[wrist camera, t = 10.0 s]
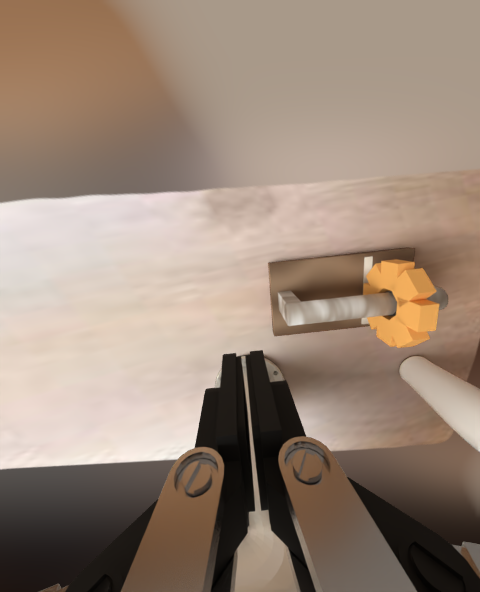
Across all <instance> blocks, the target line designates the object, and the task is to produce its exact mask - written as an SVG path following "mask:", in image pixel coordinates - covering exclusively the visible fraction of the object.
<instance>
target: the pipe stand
mask: <svg viewBox="0 0 480 592" xmlns="http://www.w3.org/2000/svg"><path fill="white" fill-rule="evenodd" d="M414 253H415V248H400V249H391V250H381V251H372V252H363V253H354V254H345V255H336V256H327V257H318V258H308V259H299V260H290V261H281V262H272V263H268V268H269V282H270V296H271V310H272V324H273V333H274V336H282V335H291V334H301V333H310V332H319V331H328V330H338V329H347V328H356V327H365V326H370V324H369V322H368V319H367V317H376V316H385V315H388V316H396V311H397V301H396V299H395V297H394V295H393V293H392V291H386V292H384V293H377V294H368V295H363V285H364V283H369V282H368V280H367V278H366V275H367V274H368V273H369V271H370V270H371V269H372V268H373V266H374V265H375V264H376V263H381V261H385V260H394V259H398V260H404V261H410V262H414ZM434 288H435V289H436V291H437V292H435V293H434V294H433V295H431V296H430V297H428V298H427V300H430V301H433V302H435V303H438V304H439V310H441V309H444V308H445V307H446V306H447V304H448V295H447V293H446V292H445V290H443V289H442V288H440V287H436V286H434Z"/></svg>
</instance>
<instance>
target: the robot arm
mask: <svg viewBox="0 0 480 592" xmlns="http://www.w3.org/2000/svg"><path fill="white" fill-rule="evenodd" d="M40 592H480V545H479V544H474V543H468V542H463V544H462V547H460V546H455V545H451V544H450V543H448V542H447V541H446V540H444V539H443V538H442V537H441V536H439V535H438V534H436V533H435V532H433V531H432V530H430V529H428V528H427V527H425V526H424V525H422V524H421V523H419V522H417V521H416V520H414V519H412V518H411V517H410V516H408V515H406V514H405V513H403V512H402V511H400V510H399V509H397V508H395V507H394V506H392V505H391V504H389V503H388V502H386V501H384V500H383V499H381V498H380V497H378V496H376V495H375V494H373V493H372V492H370V491H369V490H367V489H366V488H364V487H362V486H361V485H359V484H358V483H356V482H355V481H353V480H351V479H350V478H348V477H347V476H346V475H345V473H344V472H343V470H342V468H341V467H340V465H339V464H338V462H337V460H336V459H335V457H334V455H333V454H332V453H331V451H330V450H329V449H328V448H327V447H326V446H325V445H324V444H323V443H321V442H320V441H318V440H316V439H313V438H310V437H306V435H305V432H304V429H303V426H302V423H301V421H300V418H299V415H298V412H297V409H296V406H295V404H294V401H293V398H292V395H291V392H290V389H289V387H288V384H287V381H286V380H284V378H283V375H282V373H281V371H280V369H279V368H278V367H277V366H276V365H275V364H274V363H273V362H272V361H270V360H268V359H266V358H264V355H263V351H262V350H261V351H251V352H250V355H247V356H237V357H236V353H233V354H224V355H223V360H222V369H221V370H220V372H219V373H218V375H217V378H216V383H215V388H209V389H206V390H205V395H204V400H203V406H202V411H201V417H200V422H199V428H198V433H197V439H196V444H195V448H194V449H192V450H189V451H187V452H186V453H184V454H183V455H182V456H180V458H179V459H178V460H177V461H176V462H175V463H174V465H173V467H172V468H171V470H170V472H169V475H168V477H167V480H166V482H165V485H164V487H163V489H162V492H161V494H160V497H159V499H158V500H157V501H156V502H154V503H153V504H152V505H151V506H150V507H149V508H148V509H147V510H146V511H145V512H144V513H143V514H142V515H141V516H140V517H139V518H138V519H137V520H136V521H135V522H133V523H132V524H131V525H130V526H129V527H128V528H127V529H126V530H125V531H124V532H123V533H122V534H121V535H120V536H119V537H118V538H116V539H115V540H114V541H113V542H112V543H111V544H110V545H109V546H108V547H107V548H106V549H105V550H104V551H103V552H102V553H101V554H100V555H99V556H98V557H97V558H95V559H94V560H93V561H92V562H91V563H90V564H89V565H88V566H87V567H86V568H85V569H84V570H83V571H82V572H81V573H80V574H79V575H78V576H77V577H76V578H75V579H74V581H73V582H72V583H71V584H70V585H69V586H66V587H64V588H61V587H60V585H59V584H57V585H54V586H52V587H49V588H47V589H45V590H42V591H40Z"/></svg>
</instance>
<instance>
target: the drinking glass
mask: <svg viewBox="0 0 480 592" xmlns="http://www.w3.org/2000/svg"><path fill="white" fill-rule="evenodd" d="M399 373H400V376H401V377H402V379H403V380H404V381H406V382H407V383H408V384H409V385H410V386H411V387H412V388H413V389H414V390H415V391H416V392H417V393H418V394H419V395H420V396H421V397H422V398H423V399H424V400H425V401H426V402H427V403H428V404H429V405H430V406H431V407H432V408H433V409H434V411H435V412H436V413H437V414H438V415H439V416H440V417H441V418H442V419H443V420H444V421H445V422H446V423H447V424H448V425H449V426H450V427H451V428H452V429H453V430H454V431H455V432H456V433H457V434H459V435H460V436H461V437H462V438H463V439H464V440H465V441H467V442H468V443H469V444H470V445H471V446H472V447H474V448H475V449H476V450H477V451H478V452H479V453H480V389H479V388H477V387H475V386H473V385H472V384H470V383H468V382H466V381H464V380H462V379H460V378H459V377H457V376H455V375H453V374H451V373H450V372H448V371H446V370H444V369H442V368H440V367H439V366H437V365H435V364H433V363H432V362H430V361H429V360H427V359H426V358H424V357H421V356H412V357H409V358H407V359H406V360H404V361H403V362H402V364H401V366H400V369H399Z"/></svg>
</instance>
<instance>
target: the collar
mask: <svg viewBox="0 0 480 592" xmlns="http://www.w3.org/2000/svg"><path fill="white" fill-rule="evenodd" d="M414 265H415V262H410V261H404V260H398V259H394V260H385V261H381V263H376V264H375V265H374V266H373V268H372V269H371V270H370V271H369V273H368V274H367V275H366V278H367V280H368V282H369V283H364V285H363V295H368V294H377V293H384V292H386V291H392V293H393V295H394V297H395V299H396V301H397V311H396V316H388V315H385V316H376V317H367V319H368V322H369V324H370V327H371V329H377V335H376V336H377V337H378V338H379V339H381V340H382V341H383V342H385V343H386V344H388V345H389V346H390V347H394V346H397V348H402V347H412V346H415V345H417V344H419V343H422V342H424V341H426V340H428V339H430V337H429V335H428V333H427V331H435V330H436V325H437V318H438V311H439V304H438V303H435V302H433V301H430V300H427V298H428V297H430V296H431V295H433V294H434V293H435V292H437V291H436V289H435V288H434V286H433V284H432V283H431V281H430V279H429V278H428V276H427V274H426V273H425V271H424V269H423V268H420V269H414Z"/></svg>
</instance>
